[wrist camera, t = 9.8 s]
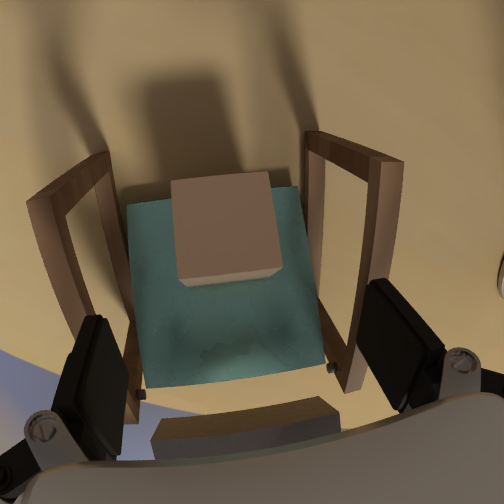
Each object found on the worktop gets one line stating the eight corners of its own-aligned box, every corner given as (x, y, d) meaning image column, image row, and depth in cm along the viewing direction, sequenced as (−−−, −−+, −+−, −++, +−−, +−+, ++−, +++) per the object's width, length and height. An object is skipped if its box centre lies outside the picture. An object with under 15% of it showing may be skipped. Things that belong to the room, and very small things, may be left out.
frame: (321, 131, 21) (404, 162, 12) (314, 303, 28) (360, 389, 19) (93, 154, 19) (26, 201, 10) (134, 326, 26) (120, 424, 17)
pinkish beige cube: (256, 202, 21) (267, 171, 16) (267, 278, 21) (282, 267, 16) (180, 210, 21) (170, 180, 16) (187, 287, 20) (178, 279, 15)
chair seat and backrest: (289, 198, 25) (303, 176, 20) (324, 452, 21) (343, 475, 17) (135, 216, 23) (119, 195, 19) (175, 475, 20) (168, 503, 15)
